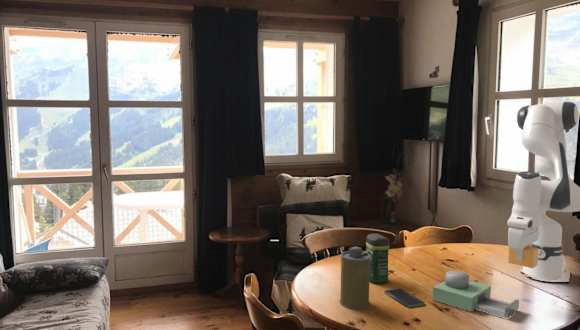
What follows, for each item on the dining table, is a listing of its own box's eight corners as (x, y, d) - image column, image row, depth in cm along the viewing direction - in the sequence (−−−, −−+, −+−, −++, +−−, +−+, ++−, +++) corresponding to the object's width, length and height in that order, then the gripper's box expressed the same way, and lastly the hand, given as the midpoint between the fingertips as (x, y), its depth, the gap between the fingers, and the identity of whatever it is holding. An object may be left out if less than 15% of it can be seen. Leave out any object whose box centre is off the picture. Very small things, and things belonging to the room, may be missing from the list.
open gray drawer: (486, 301, 164) (487, 291, 163) (518, 310, 156) (519, 300, 156) (474, 309, 157) (475, 299, 156) (507, 319, 149) (508, 308, 149)
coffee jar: (391, 283, 181) (392, 237, 179) (373, 285, 179) (374, 238, 177) (379, 275, 191) (381, 231, 189) (362, 276, 188) (363, 232, 186)
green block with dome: (453, 289, 176) (454, 266, 175) (490, 299, 166) (491, 275, 165) (432, 300, 164) (433, 276, 164) (471, 312, 155) (472, 286, 154)
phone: (407, 306, 157) (383, 290, 171) (407, 309, 158) (383, 293, 171) (426, 303, 160) (400, 288, 174) (426, 306, 160) (400, 290, 174)
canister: (354, 311, 154) (355, 253, 152) (333, 301, 163) (334, 246, 161) (376, 304, 161) (378, 248, 159) (355, 294, 169) (357, 241, 167)
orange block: (513, 259, 166) (514, 243, 165) (537, 265, 160) (538, 248, 159) (508, 262, 162) (509, 246, 161) (532, 268, 156) (533, 251, 156)
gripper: (526, 212, 169) (523, 249, 170) (505, 221, 154) (503, 261, 156) (545, 215, 164) (542, 253, 166) (525, 225, 150) (522, 266, 151)
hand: (523, 257), depth 161 cm, fingers closed on orange block, 5 cm apart
